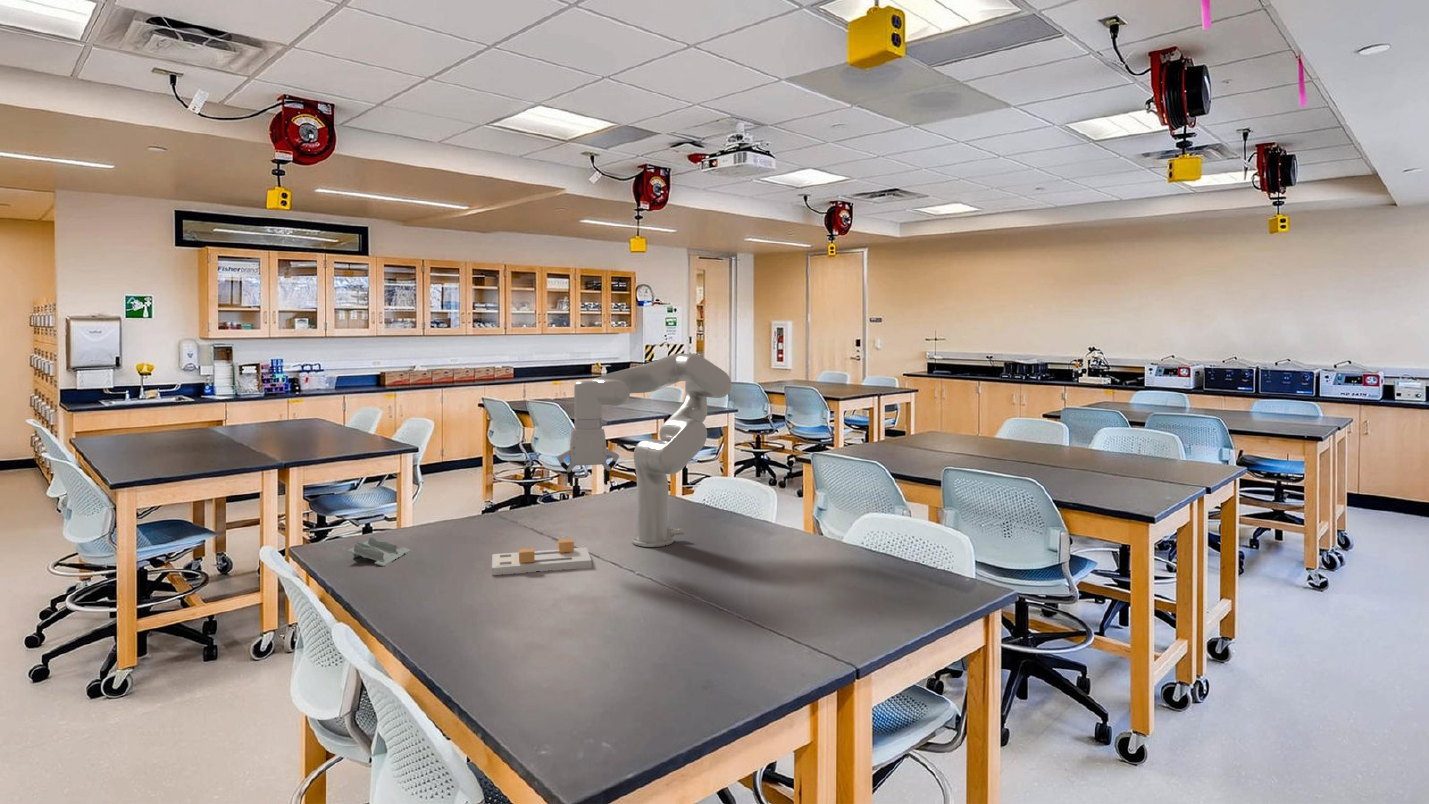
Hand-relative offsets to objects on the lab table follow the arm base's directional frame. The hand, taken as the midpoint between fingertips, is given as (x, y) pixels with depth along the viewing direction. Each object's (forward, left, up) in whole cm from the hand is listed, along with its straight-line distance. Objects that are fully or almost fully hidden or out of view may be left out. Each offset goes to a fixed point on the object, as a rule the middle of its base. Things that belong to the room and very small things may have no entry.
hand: (588, 484), depth 216 cm
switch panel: (+14, +4, -21) cm, 25 cm away
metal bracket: (+58, -15, -22) cm, 64 cm away
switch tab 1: (+18, +7, -18) cm, 27 cm away
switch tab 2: (+7, 0, -18) cm, 19 cm away
